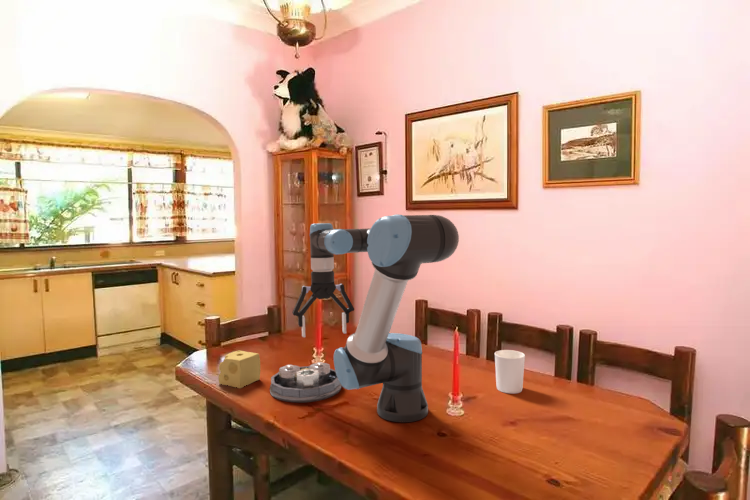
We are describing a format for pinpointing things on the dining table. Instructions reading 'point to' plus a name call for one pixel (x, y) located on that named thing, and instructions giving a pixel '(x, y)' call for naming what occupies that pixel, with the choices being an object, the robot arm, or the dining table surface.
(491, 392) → the dining table surface
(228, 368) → the cheese
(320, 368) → the carrier
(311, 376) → the octagonal hollow container
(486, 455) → the dining table surface
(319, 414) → the dining table surface
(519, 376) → the white tapered cup
